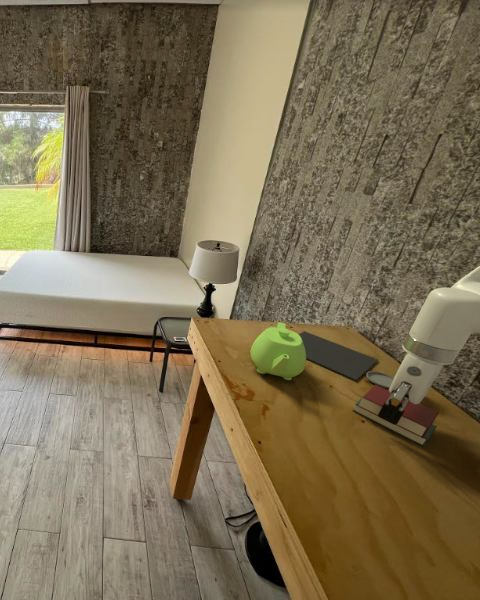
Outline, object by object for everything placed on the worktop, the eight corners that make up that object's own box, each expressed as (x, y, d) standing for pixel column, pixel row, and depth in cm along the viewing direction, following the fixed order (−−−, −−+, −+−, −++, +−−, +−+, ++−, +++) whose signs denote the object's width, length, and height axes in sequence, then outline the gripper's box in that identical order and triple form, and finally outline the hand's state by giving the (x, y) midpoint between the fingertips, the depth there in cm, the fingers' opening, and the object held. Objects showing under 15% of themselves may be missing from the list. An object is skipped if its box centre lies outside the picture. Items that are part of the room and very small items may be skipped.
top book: (432, 422, 69) (439, 412, 68) (422, 438, 66) (429, 427, 64) (370, 394, 78) (375, 384, 76) (358, 406, 74) (363, 396, 73)
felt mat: (377, 361, 93) (378, 359, 93) (355, 381, 85) (356, 379, 85) (303, 332, 108) (304, 330, 108) (279, 347, 100) (279, 345, 100)
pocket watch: (364, 371, 89) (378, 341, 85) (405, 382, 85) (421, 351, 80) (366, 387, 83) (381, 355, 79) (410, 400, 79) (428, 367, 74)
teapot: (304, 397, 80) (319, 356, 75) (246, 381, 86) (256, 342, 81) (298, 355, 96) (310, 319, 91) (249, 345, 102) (257, 310, 97)
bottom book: (432, 433, 69) (437, 426, 69) (423, 447, 66) (428, 439, 65) (362, 400, 79) (365, 393, 78) (352, 410, 76) (355, 403, 75)
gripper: (445, 372, 57) (403, 440, 64) (467, 343, 65) (428, 405, 73) (391, 352, 63) (359, 416, 70) (417, 327, 71) (386, 387, 79)
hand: (394, 411), depth 71 cm, fingers open, 9 cm apart
